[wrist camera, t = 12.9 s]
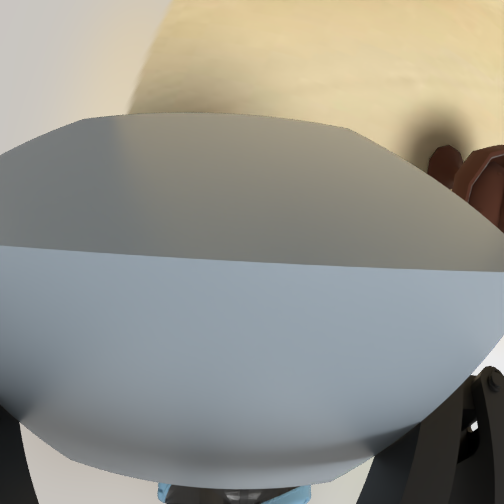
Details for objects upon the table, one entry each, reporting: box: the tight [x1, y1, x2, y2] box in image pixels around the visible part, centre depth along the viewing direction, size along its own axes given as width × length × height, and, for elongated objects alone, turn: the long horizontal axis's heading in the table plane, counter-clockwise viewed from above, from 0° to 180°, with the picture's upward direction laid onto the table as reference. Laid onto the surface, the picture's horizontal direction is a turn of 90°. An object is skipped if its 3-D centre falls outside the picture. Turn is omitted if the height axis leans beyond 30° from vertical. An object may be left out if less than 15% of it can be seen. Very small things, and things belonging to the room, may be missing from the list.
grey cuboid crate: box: [0, 112, 504, 489], centre depth 8 cm, size 10×10×9 cm
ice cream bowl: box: [427, 145, 504, 233], centre depth 19 cm, size 11×11×15 cm
